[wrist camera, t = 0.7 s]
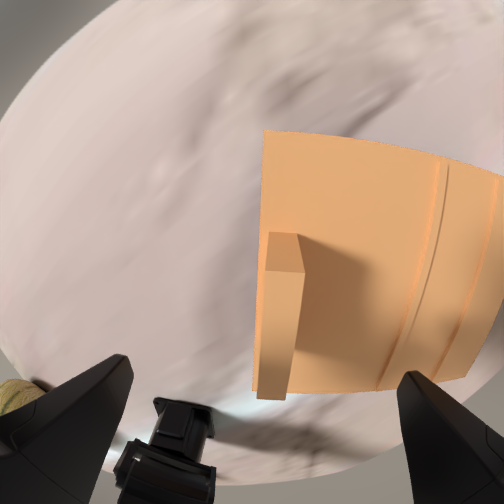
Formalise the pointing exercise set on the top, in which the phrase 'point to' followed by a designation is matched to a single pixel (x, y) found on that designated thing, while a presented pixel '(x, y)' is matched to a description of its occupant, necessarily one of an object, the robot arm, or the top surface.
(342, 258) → the lid
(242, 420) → the top surface
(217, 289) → the top surface
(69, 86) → the top surface
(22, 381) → the cantaloupe
